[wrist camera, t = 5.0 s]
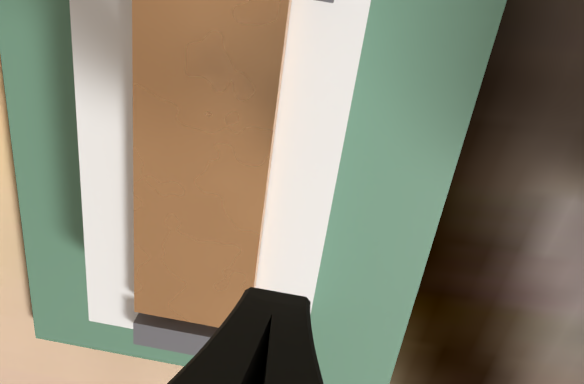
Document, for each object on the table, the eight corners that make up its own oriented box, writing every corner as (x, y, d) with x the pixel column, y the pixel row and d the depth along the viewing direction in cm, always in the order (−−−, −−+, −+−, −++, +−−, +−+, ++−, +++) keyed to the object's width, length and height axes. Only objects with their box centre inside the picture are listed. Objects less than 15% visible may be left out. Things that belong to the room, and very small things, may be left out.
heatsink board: (617, -392, 13) (739, -532, 9) (382, 390, 25) (385, 488, 21) (-46, -475, 14) (-233, -642, 9) (44, 325, 26) (-18, 408, 22)
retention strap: (297, -46, 14) (294, -43, 13) (251, 321, 19) (247, 333, 19) (140, -70, 14) (131, -69, 13) (140, 300, 20) (134, 311, 19)
